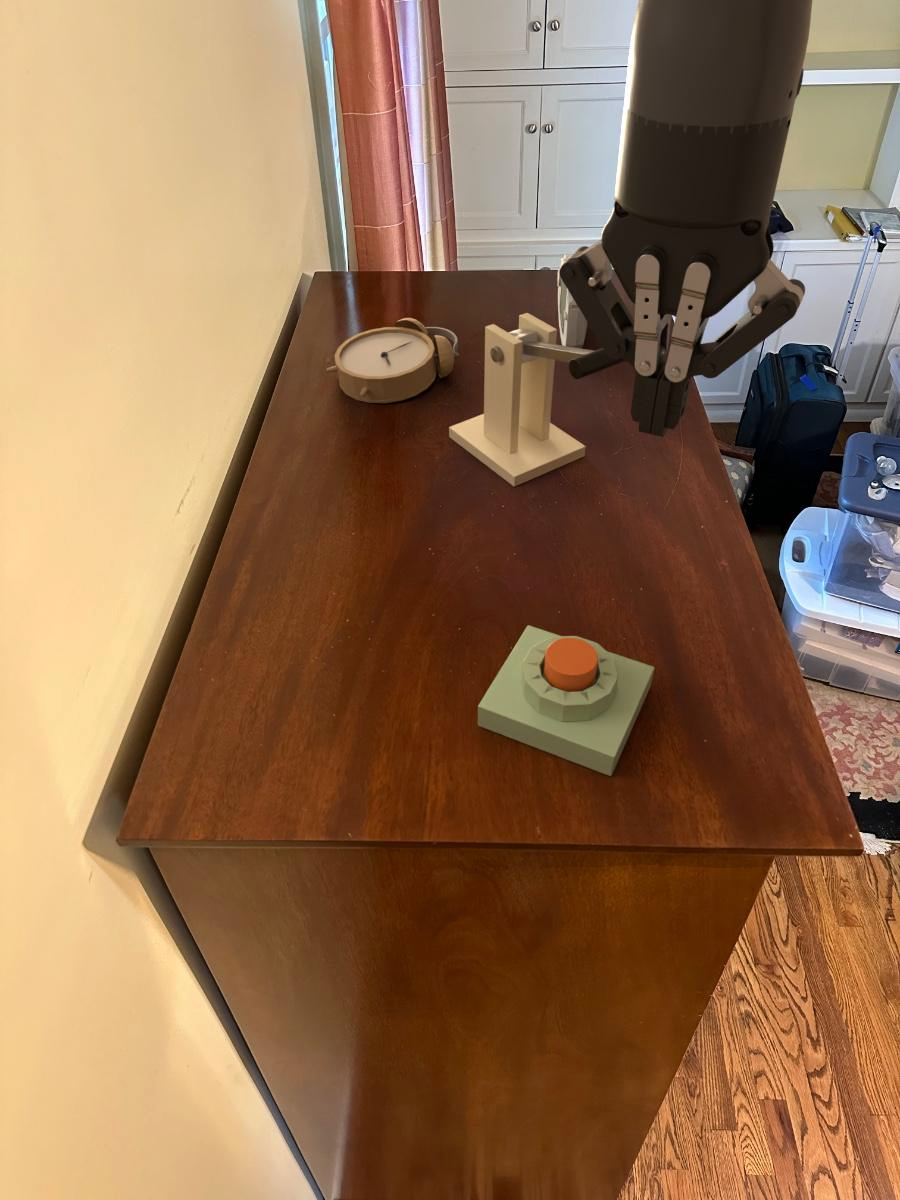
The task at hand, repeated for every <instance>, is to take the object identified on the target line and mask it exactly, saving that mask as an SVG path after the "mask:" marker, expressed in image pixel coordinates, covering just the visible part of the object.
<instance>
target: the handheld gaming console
mask: <svg viewBox="0 0 900 1200" xmlns="http://www.w3.org/2000/svg"><path fill="white" fill-rule="evenodd" d="M572 255H573V254H564V255H563V257H561V258H560V267H558V270H557V287H558V288H557V310H558V326H559V335H560V340H561V345H562V346H568V347H574V348H580V349H583V347H584V343H585V340H586V334H587V328H588V322H587V320H586V319H585V317H584V316H583V314H582V312H581V311H580V309H579V307H578V306H577V304H576V302H575V301H574V299H573V297H572V296H571V294H570V292H569V291H568V289H567V287H566V286H565V284H564V282H563V281H562V279H561V277H560V268H561V266H562V265H563V264H564V263H565V262H566V261H567V260H568V259H569V258H570V257H571V256H572Z"/></svg>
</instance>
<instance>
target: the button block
mask: <svg viewBox="0 0 900 1200" xmlns="http://www.w3.org/2000/svg"><path fill="white" fill-rule="evenodd" d="M562 638H577V639H581V640H584V641H586V642H587V643H589V644H590V645H591V646H592V647H593V648H594V649H595V650H596V652H597V655H598V663H597V670H596V676H595V680H594V682H593V683H592V684H591V685H590V686H589V687H588V688H586V689H584V690H581V691H577V692H567V691H563V690H560V689H557V688H555V687H554V686H552V685H551V684H550V683H549V682H548V681H547V679H546V677H545V674H544V665H545V654H546V650H547V648H548V647H549V645H550V644H551V643H553V642H554V641H556V640H558V639H562ZM654 672H655V666H653V665H649V664H647V663H643V662H641V661H638V660H634V659H633V658H632V659H631V658H628V657H626V656H622V655H619V654H616V653H613V652H611V651H608V650H606V649H605V648H603V646H601V644H599V643H598V642H596V641H593V640H590V639H586V638H583V637H580V636H578V635H564V636H563V635H559V634H556V633H553V632H550V631H547V630H545V629H541V628H538V627H535V626H532V625H528V624H527V626H526V627H525V629H524V631H523V632H522V634H521V636H520V637H519V639H518V641H517V642H516V644H515V645H514V648H512V651H511V652H510V654H509V655H508V657H507V658H506V660H505V661H504V664H503V665H502V666H501V668H500V669H499V671H498V673H497V674H496V676H495V677H494V680H493V681H492V683H491V684H490V685H489V688H488V689H487V691H486V692H485V694H484V696H483V697H482V699H481V701H480V702H479V704H478V705H477V726H478V727H480V728H482V729H486V730H489V731H491V732H494V733H496V734H499V735H501V736H503V737H507V738H509V739H512V740H514V741H517V742H519V743H522V744H525V745H528V746H530V747H532V748H535V749H538V750H540V751H542V752H545V753H549V754H551V755H553V756H556V757H558V758H560V759H561V758H562V759H564V760H567V761H569V762H572V763H574V764H576V765H578V766H579V765H580V766H581V767H585V768H588V769H590V770H593V771H595V772H598V773H601V774H603V775H606V776H608V777H612V776H613V773H614V772H615V769H616V766H617V764H618V762H619V760H620V758H621V755H622V753H623V751H624V748H625V746H626V743H627V741H628V740H629V737H630V735H631V733H632V730H633V728H634V725H635V723H636V721H637V718H638V716H639V714H640V712H641V709H642V707H643V705H644V703H645V700H646V698H647V696H648V694H649V691H650V689H651V686H652V681H653V677H654V674H655V673H654Z"/></svg>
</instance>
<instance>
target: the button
mask: <svg viewBox="0 0 900 1200" xmlns="http://www.w3.org/2000/svg"><path fill="white" fill-rule="evenodd" d="M597 663H598V655H597V652H596V650H595V649H594V648H593V647H592V646H591V645H590V644H589V643H587V642H586V641H584V640H581V639H577V638H562V639H558V640H556V641H554V642H553V643H551V644H550V645H549V647H548V648H547V650H546V654H545V665H544V674H545V677H546V679H547V681H548V682H549V683H550V684H551V685H552V686H554V687H555V688H557V689H560V690H563V691H567V692H577V691H581V690H584V689H586V688H588V687H589V686H590V685H591V684H592V683H593V682H594V680H595V676H596V670H597Z"/></svg>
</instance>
